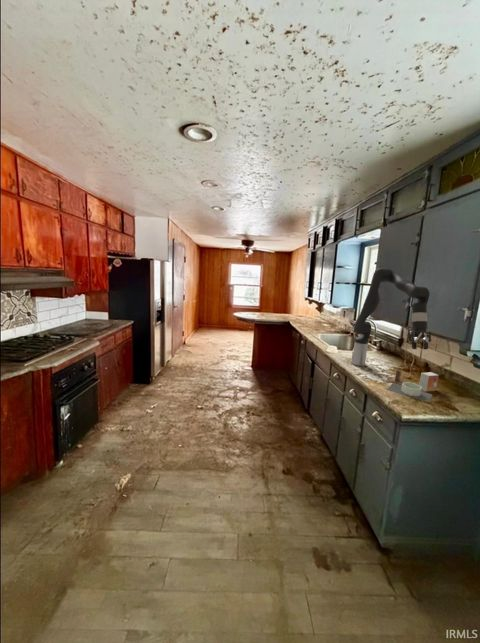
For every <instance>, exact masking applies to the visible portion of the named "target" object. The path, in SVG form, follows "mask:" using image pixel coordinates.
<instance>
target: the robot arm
mask: <svg viewBox="0 0 480 643" xmlns="http://www.w3.org/2000/svg"><path fill="white" fill-rule="evenodd" d="M381 283H390V284H394V285H395V287H396V288H397V289H398V290H399V291H401V292H403V293H404V294H406V295H407V296H409V297H410V299H411V298H412V299H416V300H417V302H414V303H413V304H412V311H411V312H412V313H411V314H412V315H411V329H412V330H409V331H408V342H411V349H412V350H417V348H418V346H417V345H418V344H417V342H418V340H419V339H420V340H422V342H423V350H428V349H429V343H430V342H432V332H431V331H428V313H427V312H428V311H427V310H428V309H427V308H428V307H427V306H428V303H429V298H430V290H429V288H427V287H425V286H417V285H416V284H415V283H414V282H412V281H410V280H408V279H405V278H403V277H402V276H400V275H399V274H397V273H396V272H395V271H394V270H392V269H391V268H381V267H379V268H377V269H375V270H374V272H373V275H372V278H371V282H370V286H369V290H368V291H367V295H366V297H365V299H364V303H363V304H362V305H363V306H362V308H361V310H360V313H359V315H358V317H357V319H356V321H355V323H354V326H353V331H354V333H355V334H357V335H358V334H359V336H356V337H355V338H354V346H353V351H352V355H351V361H350V364H352V365H354V366H359V367H365V366H366V360H367V355H368V354H367V352H368V348H369V347H368V346H369V341H370V337H371V334H372V324H371V323H370V322H369V321H367V319H368V318H369V317H370V316H371V315H373V314H374V313H375V312H376V310H377V309H378V306H379V305H380V302H381V298H380V293H379V288H380V285H381Z"/></svg>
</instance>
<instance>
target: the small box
mask: <svg viewBox="0 0 480 643" xmlns="http://www.w3.org/2000/svg"><path fill="white" fill-rule="evenodd" d="M439 376H440V375H439V374H438V373H435V372H433V371H429V372H421V373H420V379H419V384H418V385H420V386H421V387H422V391H423V392H435V391H437V386H438V382H439V378H440V377H439Z"/></svg>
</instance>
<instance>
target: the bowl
mask: <svg viewBox="0 0 480 643" xmlns="http://www.w3.org/2000/svg"><path fill="white" fill-rule="evenodd" d="M401 386H402V387H401V391H402V392H403V393H404V394H406V395H409V396H414V397H418V396H420V395H421V392H423V390H422V387H421V386H420V385H419V384H418V383H414V382H408V381H407V382H403V384H402V385H401ZM409 396H408V397H409Z"/></svg>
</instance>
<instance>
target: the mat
mask: <svg viewBox="0 0 480 643" xmlns="http://www.w3.org/2000/svg"><path fill="white" fill-rule="evenodd" d="M401 387H402V385H399V384H394V383H391V384H390V386H388V387H387V389H386V391H389V392H393V393H396V394H399V395H403V396H405V397H409V398H413V399H417V400H420V401H422V402H427V403H429V402H430V400H431V398H432V397H433V394H432V393H429V392H426V391H422V392H421V395H420V396H418V397H414V396H409V395H406V394H404V393H403V392H402V391H401Z"/></svg>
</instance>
